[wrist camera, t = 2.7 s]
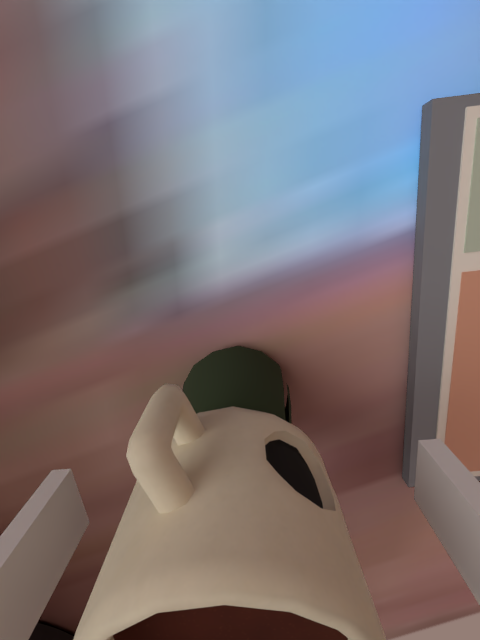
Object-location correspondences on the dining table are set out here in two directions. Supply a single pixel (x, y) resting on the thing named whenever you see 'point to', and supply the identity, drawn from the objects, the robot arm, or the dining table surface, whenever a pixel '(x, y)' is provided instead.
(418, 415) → the picture board
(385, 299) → the dining table surface
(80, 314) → the dining table surface
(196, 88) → the dining table surface
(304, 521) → the character mug
